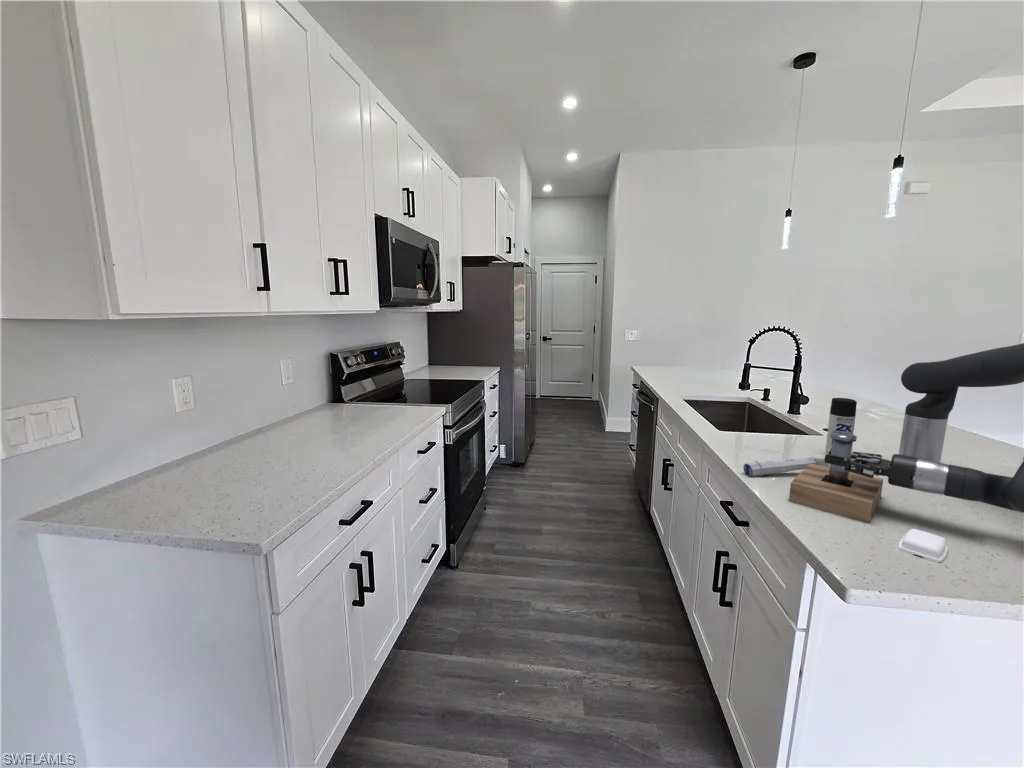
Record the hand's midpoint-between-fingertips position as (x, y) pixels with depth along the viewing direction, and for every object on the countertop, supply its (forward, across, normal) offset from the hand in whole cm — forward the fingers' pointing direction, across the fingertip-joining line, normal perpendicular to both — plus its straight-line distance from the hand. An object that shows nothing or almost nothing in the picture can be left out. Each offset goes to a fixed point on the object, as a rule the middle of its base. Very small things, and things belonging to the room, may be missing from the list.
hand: (827, 456), depth 109 cm
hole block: (-3, 0, +11) cm, 11 cm away
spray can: (+3, -38, +11) cm, 40 cm away
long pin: (-3, 0, +10) cm, 10 cm away
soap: (-20, +16, +12) cm, 28 cm away
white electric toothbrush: (+11, -10, +11) cm, 18 cm away
